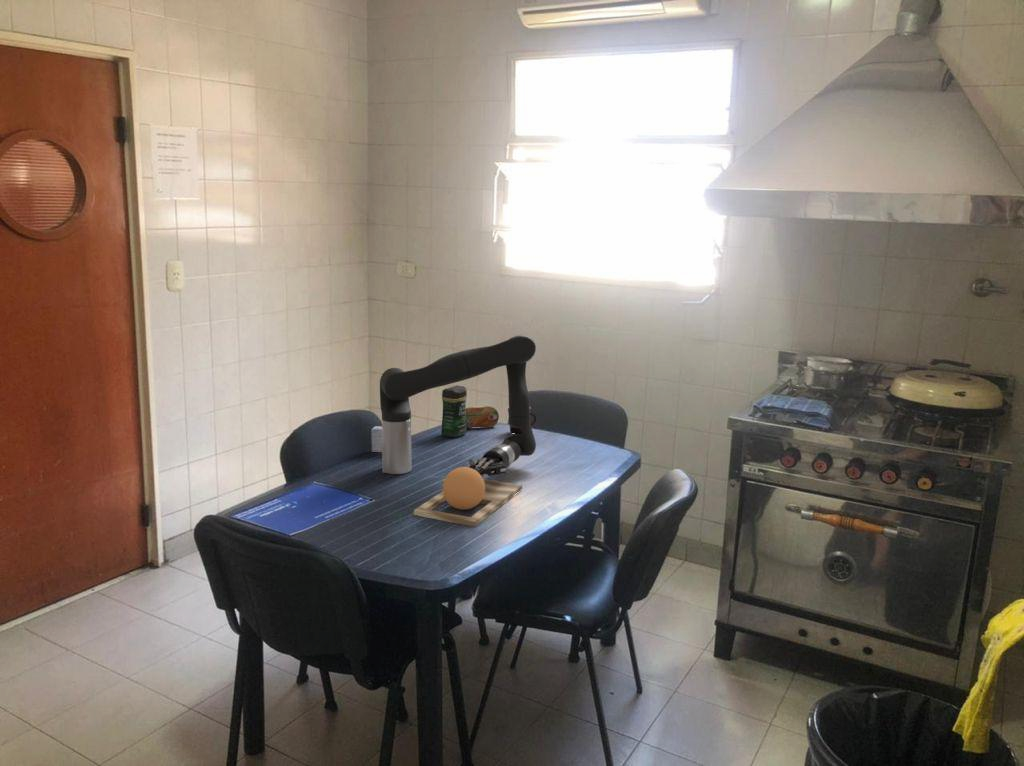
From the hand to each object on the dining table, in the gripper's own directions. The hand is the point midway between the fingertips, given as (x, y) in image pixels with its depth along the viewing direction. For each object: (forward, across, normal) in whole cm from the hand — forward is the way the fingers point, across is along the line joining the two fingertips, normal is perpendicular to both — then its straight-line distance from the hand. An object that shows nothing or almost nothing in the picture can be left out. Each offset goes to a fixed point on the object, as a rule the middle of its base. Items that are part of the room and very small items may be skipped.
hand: (474, 475), depth 235 cm
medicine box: (-28, -48, +8) cm, 56 cm away
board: (+2, 0, +8) cm, 8 cm away
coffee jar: (-57, -37, +8) cm, 69 cm away
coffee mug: (-70, -15, +8) cm, 72 cm away
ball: (+8, 0, +2) cm, 8 cm away
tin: (-71, -33, +8) cm, 79 cm away
